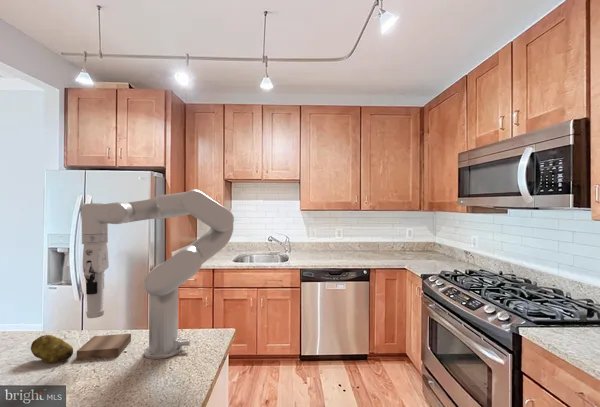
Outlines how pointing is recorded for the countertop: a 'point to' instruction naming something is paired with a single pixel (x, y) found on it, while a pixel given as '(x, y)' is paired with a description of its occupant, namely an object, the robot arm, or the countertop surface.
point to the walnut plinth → (104, 346)
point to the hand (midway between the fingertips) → (95, 291)
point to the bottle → (96, 298)
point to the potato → (51, 349)
